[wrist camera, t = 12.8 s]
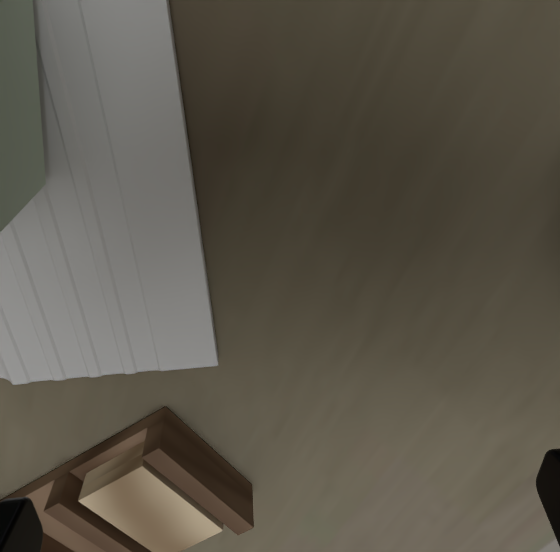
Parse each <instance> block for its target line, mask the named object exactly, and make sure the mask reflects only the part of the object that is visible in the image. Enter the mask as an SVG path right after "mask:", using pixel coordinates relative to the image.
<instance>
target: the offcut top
mask: <svg viewBox="0 0 560 552" xmlns="http://www.w3.org/2000/svg"><path fill="white" fill-rule="evenodd" d="M78 501H79V502H80V503H82V504H83V505H84V506H86V507H87V508H89V509H90V510H92V511H93V512H95V513H96V514H98V515H99V516H100V517H102V518H103V519H105V520H106V521H108V522H109V523H111V524H112V525H114V526H115V527H116V528H118V529H119V530H121V531H122V532H124V533H125V534H127V535H128V536H130V537H131V538H133V539H134V540H135V541H137V542H138V543H140V544H141V545H143V546H144V547H146V548H147V549H149V550H150V551H151V552H180V551H182V550H184V549H186V548H188V547H190V546H192V545H195V544H197V543H199V542H201V541H203V540H205V539H207V538H209V537H211V536H213V535H215V534H217V533H219V532H221V531H223V523H222V522H221V521H220V520H218V519H217V518H216V517H215V516H214V515H212V514H211V513H210V512H209V511H207V510H206V509H205V508H204V507H202V506H201V505H200V504H199V503H197V502H196V501H195V500H194V499H192V498H191V497H190V496H189V495H187V494H186V493H185V492H184V491H182V490H181V489H180V488H179V487H178V486H176V485H175V484H174V483H173V482H171V481H170V480H169V479H168V478H166V477H165V476H164V475H163V474H161V473H160V472H159V471H158V470H156V469H155V468H154V467H153V466H151V465H150V464H149V463H148V462H147V461H145V460H144V459H143V458H142V454H141V455H139V456H137V457H136V458H134V459H132V460H130V461H128V462H126V463H125V464H123V465H121V466H119V467H117V468H116V469H114V470H112V471H110V472H108V473H106V474H105V475H103V476H101V477H99V478H97V479H96V480H94V481H92V482H90V483H88V484H86V485H85V486H83V487H82V489H81V492H80V496H79V499H78Z"/></svg>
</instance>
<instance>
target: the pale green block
mask: <svg viewBox="0 0 560 552" xmlns="http://www.w3.org/2000/svg"><path fill="white" fill-rule="evenodd" d="M45 184H46V178H45V164H44V150H43V136H42V123H41V109H40V95H39V81H38V68H37V54H36V40H35V26H34V12H33V0H0V232H1V231H2V230H3V229H4V228H5V227H6V226H7V225H8V224H9V223H10V222H11V221H12V219H13V218H14V217H15V216H16V215H17V214H18V213H19V212H20V211H21V210H22V209H23V208H24V207H25V206H26V205H27V204H28V202H29V201H30V200H31V199H32V198H33V197H34V196H35V195H36V194H37V193H38V192H39V191H40V190H41V189H42V188H43V187H44V186H45Z"/></svg>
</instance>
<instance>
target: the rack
mask: <svg viewBox="0 0 560 552" xmlns="http://www.w3.org/2000/svg"><path fill="white" fill-rule="evenodd" d="M144 441H145V443H144V448H143V453H142V458H143V459H144V460H145V461H147V462H148V463H149V464H150V465H151V466H153V467H154V468H155V469H156V470H158V471H159V472H160V473H161V474H163V475H164V476H165V477H166V478H168V479H169V480H170V481H171V482H173V483H174V484H175V485H176V486H178V487H179V488H180V489H181V490H182V491H184V492H185V493H186V494H187V495H189V496H190V497H191V498H192V499H194V500H195V501H196V502H197V503H199V504H200V505H201V506H202V507H204V508H205V509H206V510H207V511H209V512H210V513H211V514H212V515H214V516H215V517H216V518H217V519H218V520H220V521H221V522H222V523H223V524H225V525H226V526H227V527H228V528H230V529H231V530H232V531H233V532H235V533H236V534H237V535H240V534H242V533H244V532H246V531H248V530H250V529H252V528H254V522H253V496H252V484H250V483H249V482H248V481H247V480H246V479H245V478H244V477H243V476H242V475H241V474H239V473H238V472H237V471H236V470H235V469H234V468H233V467H232V466H231V465H230V464H228V463H227V462H226V461H225V460H224V459H223V458H222V457H221V456H220V455H218V454H217V453H216V452H215V451H214V450H213V449H212V448H211V447H210V446H209V445H207V444H206V443H205V442H204V441H203V440H202V439H201V438H200V437H199V436H197V435H196V434H195V433H194V432H193V431H192V430H191V429H190V428H189V427H188V426H186V425H185V424H184V423H183V422H182V421H181V420H180V419H179V418H178V417H177V416H175V415H174V414H173V413H172V412H171V411H170V410H169V409H168V408H167V407H164V408H162V409H160V410H159V411H157V412H155V413H153V414H152V415H150V416H148V417H146V418H145V419H143V420H141V421H139V422H137V423H136V424H134V425H132V426H130V427H129V428H127V429H125V430H123V431H122V432H120V433H118V434H116V435H115V436H113V437H111V438H109V439H108V440H106V441H104V442H102V443H101V444H99V445H97V446H95V447H93V448H92V449H90V450H88V451H86V452H85V453H83V454H81V455H79V456H78V457H76V458H74V459H72V460H71V461H69V462H67V463H65V464H64V465H62V466H60V467H58V468H57V469H55V470H53V471H51V472H49V473H48V474H46V475H44V476H42V477H41V478H39V479H37V480H35V481H34V482H32V483H30V484H28V485H27V486H25V487H23V488H21V489H20V490H18V491H16V492H14V493H13V494H11V495H9V496H7V497H5V498H4V499H8V498H18V497H28V498H30V499H31V500H32V502H33V504H34V507H35V509H36V512H37V514H38V517H39V519H40V521H41V524H42V527H43V541H42V547H41V552H151V551H150V550H149V549H147V548H146V547H144V546H143V545H141V544H140V543H138V542H137V541H135V540H134V539H133V538H131V537H130V536H128V535H127V534H125V533H124V532H122V531H121V530H119V529H118V528H116V527H115V526H114V525H112V524H111V523H109V522H108V521H106V520H105V519H103V518H102V517H100V516H99V515H98V514H96V513H95V512H93V511H92V510H90V509H89V508H87V507H86V506H84V505H83V504H82V503H80V502H79V501H78V499H79V496H80V492H81V489H82V486H83V482H84V479H85V476H86V473H88V472H90V471H91V470H93V469H95V468H97V467H99V466H100V465H102V464H104V463H106V462H108V461H109V460H111V459H113V458H115V457H117V456H118V455H120V454H122V453H124V452H126V451H127V450H129V449H131V448H133V447H135V446H136V445H138V444H140V443H142V442H144ZM4 499H2V500H0V502H1V501H3V500H4Z"/></svg>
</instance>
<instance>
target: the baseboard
mask: <svg viewBox="0 0 560 552" xmlns="http://www.w3.org/2000/svg"><path fill="white" fill-rule="evenodd" d="M33 12H34V26H35V40H36V54H37V68H38V81H39V95H40V109H41V123H42V136H43V150H44V164H45V178H46V184H45V186H44V187H43V188H42V189H41V190H40V191H39V192H38V193H37V194H36V195H35V196H34V197H33V198H32V199H31V200H30V201H29V202H28V204H27V205H26V206H25V207H24V208H23V209H22V210H21V211H20V212H19V213H18V214H17V215H16V216H15V217H14V218H13V219H12V221H11V222H10V223H9V224H8V225H7V226H6V227H5V228H4V229H3V230H2V231H1V232H0V378H5V379H7V380H9V381H10V382H11V383H12V384H13V385H15V384H26V383H30V382H34V381H45V380H54V381H58V380H65V379H67V378H77V377H88V376H89V377H90V378H91V377H100V376H102V375H109V374H120V373H124V374H134V373H137V372H142V371H153V370H160V371H167V370H178V369H188V368H199V367H210V366H218V350H217V343H216V336H215V329H214V322H213V314H212V307H211V300H210V293H209V286H208V279H207V271H206V264H205V257H204V250H203V243H202V236H201V229H200V221H199V214H198V207H197V200H196V193H195V186H194V178H193V171H192V164H191V157H190V150H189V143H188V136H187V128H186V121H185V114H184V107H183V100H182V93H181V85H180V78H179V71H178V64H177V57H176V50H175V43H174V35H173V28H172V21H171V14H170V7H169V0H33Z"/></svg>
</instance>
